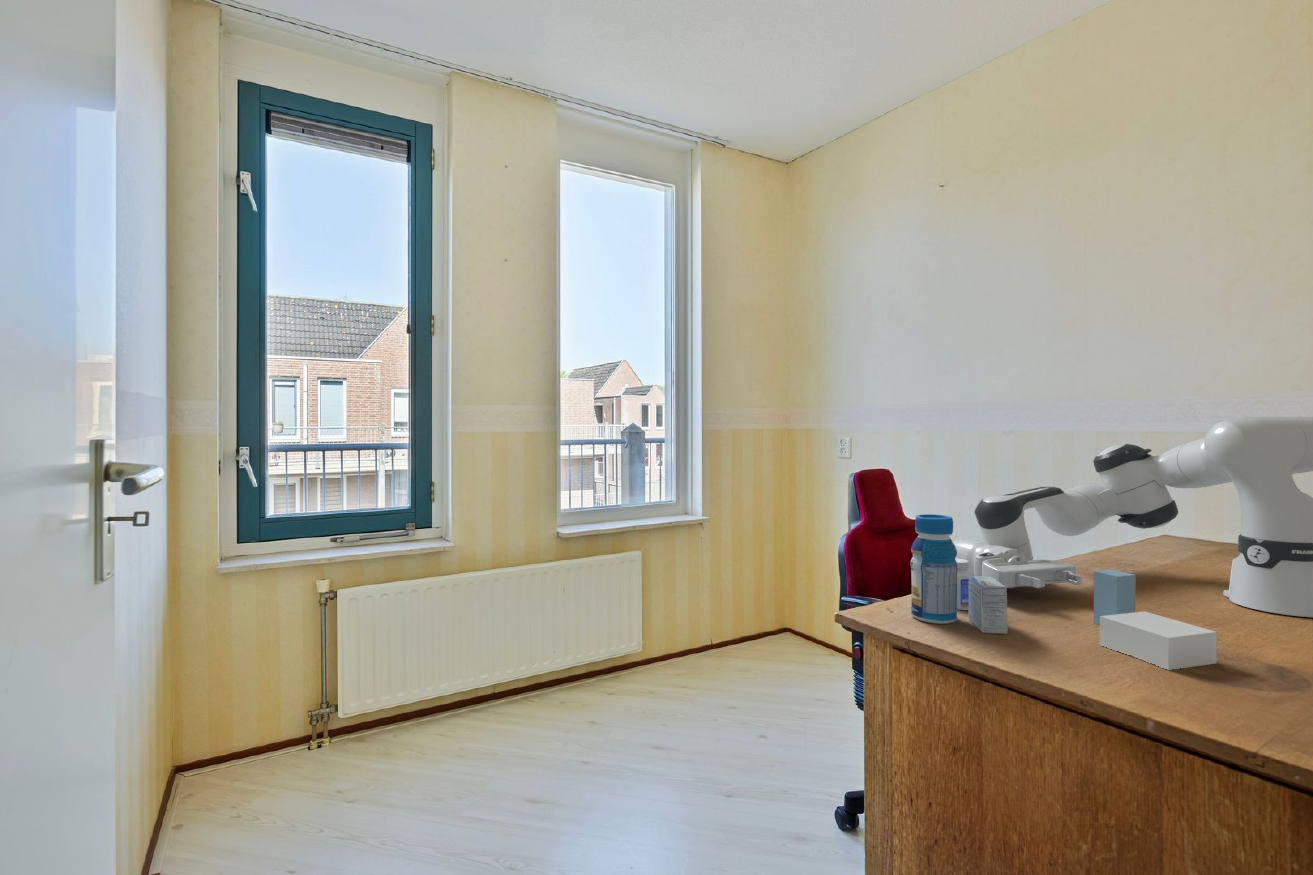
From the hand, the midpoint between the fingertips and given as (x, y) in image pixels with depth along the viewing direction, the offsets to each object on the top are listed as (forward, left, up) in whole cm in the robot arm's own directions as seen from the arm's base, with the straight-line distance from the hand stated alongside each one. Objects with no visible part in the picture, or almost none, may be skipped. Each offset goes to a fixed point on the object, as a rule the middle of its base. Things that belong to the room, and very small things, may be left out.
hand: (1060, 582), depth 124 cm
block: (0, +11, -5) cm, 12 cm away
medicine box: (+23, +5, -6) cm, 24 cm away
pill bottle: (+19, -7, -6) cm, 21 cm away
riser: (+7, +24, -5) cm, 25 cm away
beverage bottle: (+29, -2, -6) cm, 30 cm away
